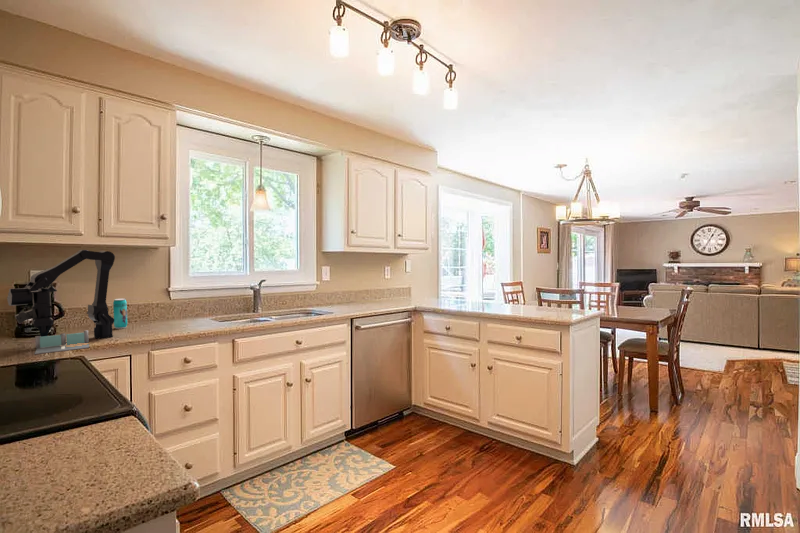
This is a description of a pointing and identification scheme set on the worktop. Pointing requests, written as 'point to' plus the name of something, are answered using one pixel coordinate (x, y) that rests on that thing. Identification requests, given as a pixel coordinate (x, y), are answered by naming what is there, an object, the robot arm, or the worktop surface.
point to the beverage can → (120, 313)
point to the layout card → (58, 348)
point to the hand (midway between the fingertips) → (43, 340)
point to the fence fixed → (77, 338)
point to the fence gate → (50, 340)
